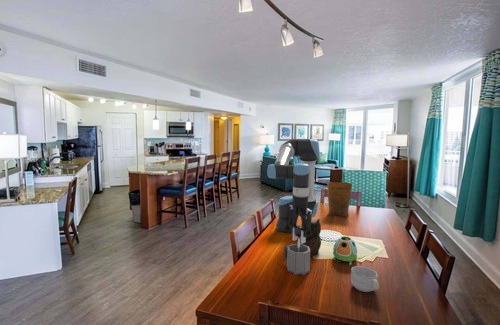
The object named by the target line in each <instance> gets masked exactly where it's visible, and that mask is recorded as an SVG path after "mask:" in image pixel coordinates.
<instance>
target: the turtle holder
mask: <svg viewBox="0 0 500 325" xmlns="http://www.w3.org/2000/svg"><path fill="white" fill-rule="evenodd" d="M332 250H333V252H332V254H333V256H334V257H333V261H337V260H339V261H342V262H348V265H349V266H352V264H353V261H356V260H357V259H358V247H357V244H356V242H355V241H354V239H353V238H352V237H351V236H349V235H348V236H347V235H343V236H340V237H339V238H338V239H337V240H336V241H335V242H334V245H333V249H332Z"/></svg>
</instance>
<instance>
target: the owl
mask: <svg viewBox="0 0 500 325" xmlns="http://www.w3.org/2000/svg"><path fill="white" fill-rule="evenodd" d="M300 226H302V224H301V225H300ZM321 231H322V226H321V223H320V218H316V219H311V229H310V230H308V231H307V237H306V242H305V243H303V245H306V246H308V247H309V248H310V258H312V257H315V256H318V255H319V251H320V249H321V245H322V240H321V239H322V237H321V235H320V234H321ZM300 244H301V236H300Z"/></svg>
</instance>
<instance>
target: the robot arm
mask: <svg viewBox="0 0 500 325" xmlns="http://www.w3.org/2000/svg"><path fill="white" fill-rule="evenodd" d="M320 153H321V152H320V143H319V141H318V139H314V138H292V139H289V140H287V141H285V142H284V143H282V144H281V145H280V147H279V150H278V156H277V158H276V160H275V162H274V163H272V164H271V163H270V164H268V165H267V169H266V171H267V172H266V174H267V177H268V178H269V179H274V180H276V179H277V180H278V179H279V180H280V179H281V180H293V181H292V183H293V184H292V195H286V196H285V195H284V196H282V197H280V198H279V201H278V218H277V221H276V224H275V230H276V231H278V232H280V233H285V234H286V233H287V234H290V233H291V234H292V241H296V240H297V241H298V236H296V235H295V226H297V225H298V224H297V223H298V220H299V217H300V220H301V225H302V228H303V230H301V244H303V243H305V242H306V237H307V231H308V230H310V229H311V220H312V218H315V217H316V216H317V211H318V207H319V206H318V205H319V200H317V197H316V196H315V172H316V169H315V168H316V167H315V166H316V165H315V164H316V162H317V161H318V159H319V158H320V156H321V155H320ZM292 157H296V158H298V157H299V158H298V159H299V162H301V163H294V164H290V161H291V158H292Z"/></svg>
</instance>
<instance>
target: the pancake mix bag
mask: <svg viewBox="0 0 500 325" xmlns="http://www.w3.org/2000/svg"><path fill="white" fill-rule="evenodd" d="M326 185H327V201H328V203H327V205H328V214H329V215H332V216H333V215H334V216H340V217H349V216H350V215H349V208H350V200H351V195H352V187H353V183H350V182H335V181H334V182H333V181H330V182H327V184H326Z"/></svg>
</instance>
